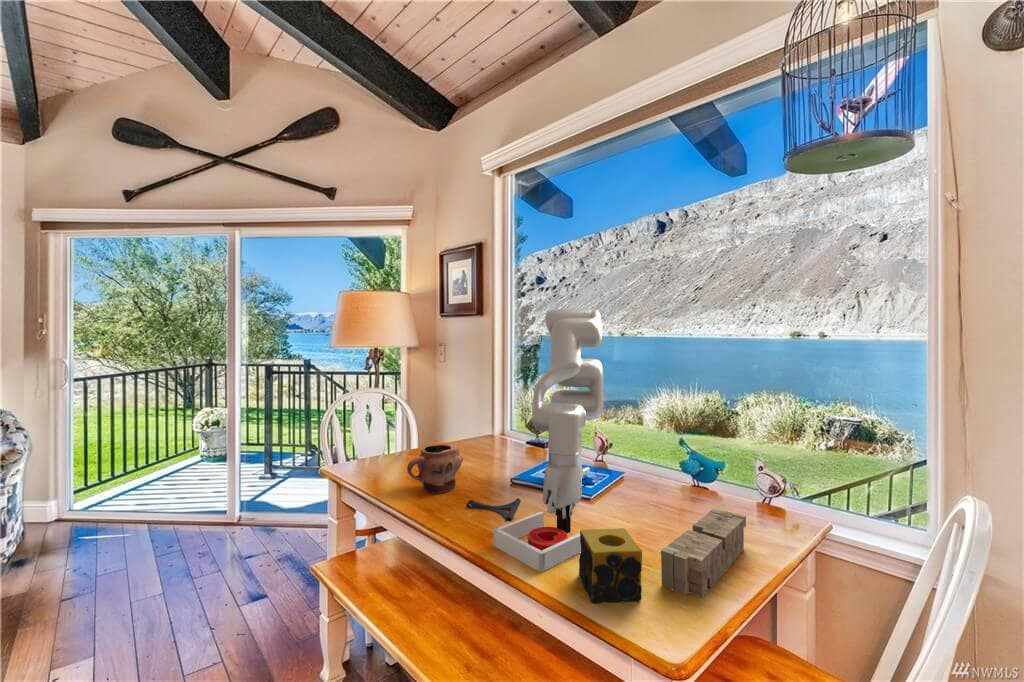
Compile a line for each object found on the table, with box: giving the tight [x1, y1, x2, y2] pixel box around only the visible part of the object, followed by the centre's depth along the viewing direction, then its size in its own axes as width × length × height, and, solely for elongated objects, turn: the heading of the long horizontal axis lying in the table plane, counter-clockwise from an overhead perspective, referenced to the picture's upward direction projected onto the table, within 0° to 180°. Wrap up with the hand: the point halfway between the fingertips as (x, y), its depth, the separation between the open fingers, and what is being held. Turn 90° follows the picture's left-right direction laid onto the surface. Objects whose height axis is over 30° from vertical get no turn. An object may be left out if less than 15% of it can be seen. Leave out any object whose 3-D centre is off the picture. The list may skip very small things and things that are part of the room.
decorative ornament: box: [527, 526, 569, 551], centre depth 107 cm, size 10×10×3 cm
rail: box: [493, 511, 581, 573], centre depth 107 cm, size 16×16×4 cm
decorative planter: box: [406, 444, 464, 494], centre depth 145 cm, size 20×12×14 cm, turn 136°
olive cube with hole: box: [578, 527, 643, 604], centre depth 90 cm, size 10×10×10 cm
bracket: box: [465, 497, 521, 522], centre depth 130 cm, size 14×15×3 cm
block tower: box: [660, 507, 747, 598], centre depth 98 cm, size 8×8×29 cm
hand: (563, 531), depth 112 cm, fingers closed
